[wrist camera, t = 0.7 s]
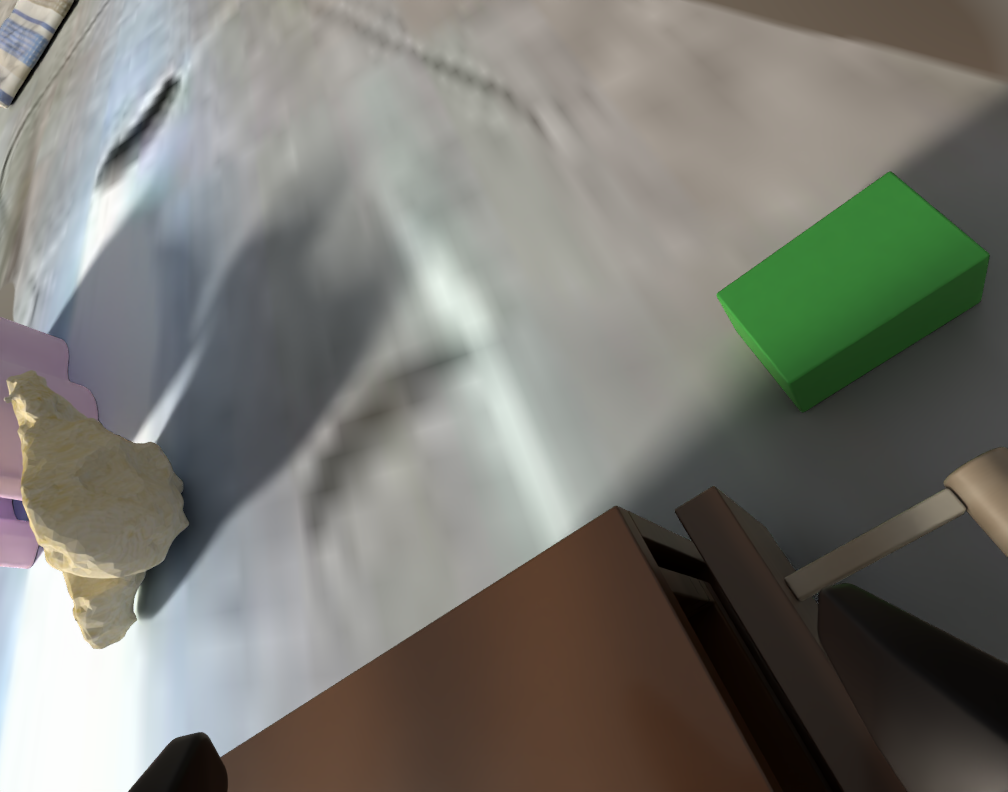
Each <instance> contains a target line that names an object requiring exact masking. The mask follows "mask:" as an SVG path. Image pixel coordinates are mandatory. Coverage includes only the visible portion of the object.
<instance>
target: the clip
mask: <svg viewBox="0 0 1008 792" xmlns="http://www.w3.org/2000/svg"><path fill="white" fill-rule="evenodd" d="M68 360H69V352H68V347H67V344H66V343H65V341H64V340H62V339H60V338H57V337H54V336H52V335H49V334H46V333H43V332H40V331H38V330H35V329H32V328H29V327H27V326H24V325H21V324H18V323H16V322H13V321H10V320H7V319H4V318H2V317H0V566H2V567H13V568H24V569H29V568H30V567H31V566H32V565H33V563H34V560H35V556H36V553H37V549H38V546H39V544H38V542H37V540H36V537H35V535H34V533H33V531H32V529H31V527H30V522H29V521H23V520H17V518H16V516H15V514H14V510H13V505H12V499H15V500H21V501H22V494H21V490H20V488H21V478H22V472H23V464H22V463H23V457H22V449H21V440H20V437H19V434H18V432H17V431H18V429H19V424H18V420H17V418H16V415H15V413H14V410H13V405H12V402H10V403H6V401H4V398H5V397H8V396H9V389H8V385H7V381H6V380H7V379H8V378H9V377H11V376H16V375H21V374H23V373H25V372H27V371H30V370H33V371H36V373H37V375H38V376H42V377H44V378H45V379H46V382H47V386H48V387H49V388H50V389H51V390H52V391H54V392H55V393H57V394H59V395H61V396H62V397H64V398H65V399H66V400H67V401H69V402H70V403H71V404H72V405H73V407H74V408H75V409H77V410H78V411H79V412H80V413H82V414H83V415H85V416H86V417H87V418H94V419H96V420H97V421H98V410H97V405H96V401H95V399H94V396H93V395H92V393H91V392H90V390H89V389H87V388H86V387H84V386H82V385H79V384H75V383H72V382H70V381H69V378H68V373H67V370H68Z"/></svg>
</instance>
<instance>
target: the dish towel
mask: <svg viewBox="0 0 1008 792" xmlns="http://www.w3.org/2000/svg"><path fill="white" fill-rule="evenodd" d="M73 2H74V0H18V1H17V4H16V6H15V8H14V10H13V12H12V13H11V14H10V15H9V17H8V18H7V19H6V20H5V21H4V23H3V24H2V26H1V27H0V107H2V108H7V107H8V106H9V105H10V104H11V102H12V101H13V99H14V97H15V95H16V93H17V92H18V90H19V88H20V87H21V85H22V84H23V82H24V81H25V79H26V77H27V76H28V74H29V72H30V71H31V70H32V68H33V67H34V66H35V64H36V63H37V61H38V60H39V58H40V56H41V55H42V53H43V51H44V50H45V48H46V46H47V45H48V43H49V42H50V39H51V38H52V36H53V35H54V33H55V31H56V30H57V28H58V26H59V25H60V23H61V22H62V20H63V18H64V17H65V16H66V14H67V12H68V11H69V9H70V7H71V6H72V4H73Z"/></svg>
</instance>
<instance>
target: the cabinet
mask: <svg viewBox="0 0 1008 792" xmlns="http://www.w3.org/2000/svg"><path fill="white" fill-rule="evenodd" d="M659 567H661V568H665V569H668V570H671V571H674V572H677V573H680V574H683V575H687V576H690V577H693V578H696V579H699V580H702V581H705V582H708V583H709V584H710V585H711V587H712V588H713V590H714V592H715V593H716V595H717V597H718V599H719V600H720V602H721V604H722V605H723V607H724V609H725V610H726V612H727V614H728V615H729V617H730V619H731V620H732V622H733V624H734V626H735V627H736V629H737V631H738V632H739V634H740V636H741V637H742V639H743V641H744V642H745V644H746V646H747V647H748V649H749V651H750V653H751V654H752V656H753V658H754V659H755V661H756V663H757V664H758V666H759V668H760V669H761V671H762V673H763V674H764V676H765V678H766V680H767V681H768V683H769V685H770V686H771V688H772V690H773V691H774V693H775V695H776V696H777V698H778V700H779V701H780V703H781V705H782V707H783V708H784V710H785V712H786V713H787V715H788V717H789V718H790V720H791V722H792V723H793V725H794V727H795V728H796V730H797V732H798V734H799V735H800V737H801V739H802V740H803V742H804V744H805V745H806V747H807V749H808V750H809V752H810V754H811V755H812V757H813V759H814V761H815V762H816V764H817V766H818V767H819V769H820V771H821V772H822V774H823V776H824V777H825V779H826V781H827V782H828V784H829V786H830V788H831V789H832V791H833V792H842V790H841V788H840V787H839V785H838V783H837V782H836V780H835V778H834V777H833V775H832V773H831V772H830V770H829V768H828V767H827V765H826V763H825V762H824V760H823V758H822V757H821V755H820V753H819V752H818V750H817V748H816V747H815V745H814V743H813V742H812V740H811V738H810V737H809V735H808V733H807V732H806V730H805V728H804V727H803V725H802V723H801V722H800V720H799V718H798V717H797V715H796V713H795V712H794V710H793V708H792V707H791V705H790V703H789V702H788V700H787V698H786V697H785V695H784V693H783V692H782V690H781V688H780V687H779V685H778V683H777V682H776V680H775V678H774V677H773V675H772V673H771V672H770V670H769V668H768V667H767V665H766V663H765V662H764V660H763V658H762V657H761V655H760V653H759V652H758V650H757V648H756V647H755V645H754V643H753V642H752V640H751V638H750V637H749V635H748V633H747V632H746V630H745V628H744V627H743V625H742V623H741V622H740V620H739V618H738V617H737V615H736V613H735V612H734V610H733V608H732V607H731V605H730V603H729V602H728V600H727V598H726V597H725V595H724V593H723V592H722V590H721V588H720V587H719V585H718V583H717V582H716V580H715V578H714V577H713V575H712V573H711V572H710V570H709V568H708V567H707V565H706V563H705V562H704V560H703V558H702V557H701V555H700V553H699V552H698V550H697V548H696V547H695V545H694V543H693V542H692V541H690V540H688V539H686V538H684V537H682V536H680V535H678V534H676V533H673V532H671V531H669V530H667V529H665V528H663V527H661V526H659V525H657V524H655V523H653V522H650V521H648V520H646V519H644V518H642V517H640V516H638V515H636V514H634V513H632V512H630V511H627V510H625V509H623V508H621V507H618V506H614V507H612V508H611V509H609V510H608V511H606V512H605V513H603V514H601V515H600V516H598V517H597V518H595V519H594V520H592V521H590V522H589V523H587V524H586V525H584V526H583V527H581V528H579V529H578V530H576V531H575V532H573V533H572V534H570V535H569V536H567V537H565V538H564V539H562V540H561V541H559V542H558V543H556V544H554V545H553V546H551V547H550V548H548V549H547V550H545V551H543V552H542V553H540V554H539V555H537V556H536V557H534V558H532V559H531V560H529V561H528V562H526V563H525V564H523V565H521V566H520V567H518V568H517V569H515V570H514V571H512V572H510V573H509V574H507V575H506V576H504V577H503V578H501V579H499V580H498V581H496V582H495V583H493V584H492V585H490V586H488V587H487V588H485V589H484V590H482V591H481V592H479V593H477V594H476V595H474V596H473V597H471V598H470V599H468V600H466V601H465V602H463V603H462V604H460V605H459V606H457V607H455V608H454V609H452V610H451V611H449V612H448V613H446V614H444V615H443V616H441V617H440V618H438V619H437V620H435V621H434V622H432V623H430V624H429V625H427V626H426V627H424V628H423V629H421V630H419V631H418V632H416V633H415V634H413V635H412V636H410V637H408V638H407V639H405V640H404V641H402V642H401V643H399V644H397V645H396V646H394V647H393V648H391V649H390V650H388V651H386V652H385V653H383V654H382V655H380V656H379V657H377V658H375V659H374V660H372V661H371V662H369V663H368V664H366V665H364V666H363V667H361V668H360V669H358V670H357V671H355V672H353V673H352V674H350V675H349V676H347V677H346V678H344V679H342V680H341V681H339V682H338V683H336V684H335V685H333V686H331V687H330V688H328V689H327V690H325V691H324V692H322V693H320V694H319V695H317V696H316V697H314V698H313V699H311V700H310V701H308V702H306V703H305V704H303V705H302V706H300V707H299V708H297V709H295V710H294V711H292V712H291V713H289V714H288V715H286V716H284V717H283V718H281V719H280V720H278V721H277V722H275V723H273V724H272V725H270V726H269V727H267V728H266V729H264V730H262V731H261V732H259V733H258V734H256V735H255V736H253V737H251V738H250V739H248V740H247V741H245V742H244V743H242V744H240V745H239V746H237V747H236V748H234V749H233V750H231V751H229V752H228V753H226V754H225V755H223V756H222V757H220V758H221V760H222V762H223V764H224V765H225V768H226V771H227V775H228V791H227V792H783V790H782V788H781V787H780V785H779V783H778V781H777V779H776V778H775V776H774V774H773V772H772V770H771V769H770V767H769V765H768V763H767V761H766V760H765V758H764V756H763V754H762V752H761V750H760V749H759V747H758V745H757V743H756V741H755V740H754V738H753V736H752V734H751V732H750V731H749V729H748V727H747V725H746V723H745V722H744V720H743V718H742V716H741V714H740V713H739V711H738V709H737V707H736V705H735V704H734V702H733V700H732V698H731V696H730V695H729V693H728V691H727V689H726V687H725V686H724V684H723V682H722V680H721V678H720V677H719V675H718V673H717V671H716V669H715V668H714V666H713V664H712V662H711V660H710V659H709V657H708V655H707V653H706V651H705V650H704V648H703V646H702V644H701V642H700V641H699V639H698V637H697V635H696V633H695V632H694V630H693V628H692V626H691V624H690V623H689V621H688V619H687V617H686V615H685V614H684V612H683V610H682V608H681V606H680V605H679V603H678V601H677V599H676V597H675V596H674V594H673V592H672V590H671V588H670V587H669V585H668V583H667V581H666V579H665V578H664V576H663V574H662V572H661V570H660V569H659Z"/></svg>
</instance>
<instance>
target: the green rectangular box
mask: <svg viewBox="0 0 1008 792" xmlns="http://www.w3.org/2000/svg"><path fill="white" fill-rule="evenodd" d="M989 257H990V255H989V253H988V252H987V251H985V250H984V249H983V248H982V247H981V246H980V245H978V244H977V243H976V242H975V241H974V240H972V239H971V238H970V237H969V236H968V235H966V234H965V233H964V232H963V231H962V230H960V229H959V228H958V227H957V226H956V225H954V224H953V223H952V222H951V221H950V220H948V219H947V218H946V217H945V216H944V215H943V214H941V213H940V212H939V211H938V210H937V209H935V208H934V207H933V206H932V205H931V204H929V203H928V202H927V201H926V200H925V199H923V198H922V197H921V196H920V195H919V194H917V193H916V192H915V191H914V190H913V189H911V188H910V187H909V186H908V185H907V184H906V183H904V182H903V181H902V180H901V179H900V178H898V177H897V176H896V175H895V174H894V173H892V172H888V173H886V174H885V175H884V176H882V177H881V178H879V179H878V180H876V181H875V182H874V183H872V184H871V185H869V186H868V187H867V188H865V189H864V190H862V191H861V192H860V193H858V194H857V195H855V196H854V197H852V198H851V199H850V200H848V201H847V202H845V203H844V204H843V205H841V206H840V207H838V208H837V209H836V210H834V211H833V212H831V213H830V214H828V215H827V216H826V217H824V218H823V219H821V220H820V221H819V222H817V223H816V224H814V225H813V226H811V227H810V228H809V229H807V230H806V231H804V232H803V233H802V234H800V235H799V236H797V237H796V238H795V239H793V240H792V241H790V242H789V243H787V244H786V245H785V246H783V247H782V248H780V249H779V250H778V251H776V252H775V253H773V254H772V255H771V256H769V257H768V258H766V259H765V260H763V261H762V262H761V263H759V264H758V265H756V266H755V267H754V268H752V269H751V270H749V271H748V272H746V273H745V274H744V275H742V276H741V277H739V278H738V279H737V280H735V281H734V282H732V283H731V284H730V285H728V286H727V287H725V288H724V289H722V290H721V291H720V292H718V293H717V298H718V299H719V301H720V303H721V305H722V306H723V308H724V310H725V312H726V314H727V315H728V317H729V319H730V321H731V322H732V324H733V326H734V328H735V330H736V331H737V332H738V334H739V335H740V336H741V337H742V339H743V340H744V341H745V342H746V344H747V345H748V346H749V347H750V349H751V350H752V351H753V352H754V354H755V355H756V356H757V358H758V359H759V360H760V361H761V363H762V364H763V365H764V366H765V368H766V369H767V370H768V371H769V373H770V374H771V375H772V376H773V378H774V379H775V380H776V381H777V383H778V384H779V385H780V386H781V388H782V389H783V390H784V391H785V393H786V394H787V395H788V396H789V398H790V399H791V400H792V401H793V403H794V404H795V405H796V407H797V408H798V409H799V410H800V411H801V412H805V411H807V410H808V409H810V408H811V407H813V406H815V405H816V404H818V403H819V402H821V401H823V400H824V399H826V398H827V397H829V396H831V395H832V394H834V393H835V392H837V391H839V390H840V389H842V388H843V387H845V386H847V385H848V384H850V383H851V382H853V381H855V380H856V379H858V378H859V377H861V376H863V375H864V374H866V373H867V372H869V371H871V370H872V369H874V368H875V367H877V366H879V365H880V364H882V363H883V362H885V361H887V360H888V359H890V358H891V357H893V356H895V355H896V354H898V353H899V352H901V351H903V350H904V349H906V348H907V347H909V346H911V345H912V344H914V343H915V342H917V341H919V340H920V339H922V338H924V337H925V336H927V335H928V334H930V333H932V332H933V331H935V330H936V329H938V328H940V327H941V326H943V325H944V324H946V323H948V322H949V321H951V320H952V319H954V318H956V317H957V316H959V315H960V314H962V313H964V312H965V311H967V310H968V309H970V308H972V307H973V306H975V305H976V304H978V303H980V301H981V299H982V293H983V288H984V283H985V278H986V272H987V267H988V262H989Z"/></svg>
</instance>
